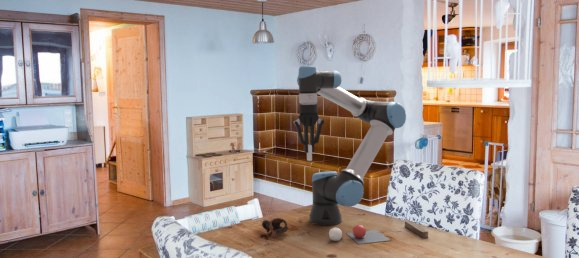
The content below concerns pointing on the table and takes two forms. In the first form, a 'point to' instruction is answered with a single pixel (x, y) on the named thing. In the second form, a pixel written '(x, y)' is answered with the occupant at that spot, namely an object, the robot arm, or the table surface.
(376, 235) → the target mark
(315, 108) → the robot arm
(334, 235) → the cue ball
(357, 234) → the red ball
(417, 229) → the strip
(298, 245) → the table surface
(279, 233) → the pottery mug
